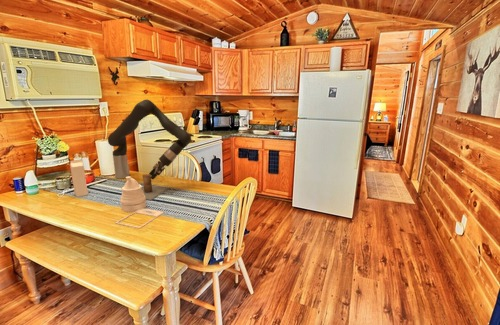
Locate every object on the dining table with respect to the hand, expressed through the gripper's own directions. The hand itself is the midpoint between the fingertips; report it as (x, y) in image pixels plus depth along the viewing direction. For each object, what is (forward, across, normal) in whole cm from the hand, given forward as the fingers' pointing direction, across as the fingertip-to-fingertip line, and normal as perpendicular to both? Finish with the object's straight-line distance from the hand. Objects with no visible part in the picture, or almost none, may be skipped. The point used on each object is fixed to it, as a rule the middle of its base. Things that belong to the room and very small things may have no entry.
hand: (150, 176), depth 162 cm
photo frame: (+15, +35, +1) cm, 38 cm away
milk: (+36, -14, -21) cm, 44 cm away
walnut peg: (+8, 0, +5) cm, 10 cm away
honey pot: (+16, +19, -1) cm, 25 cm away
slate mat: (+9, 0, +6) cm, 11 cm away
